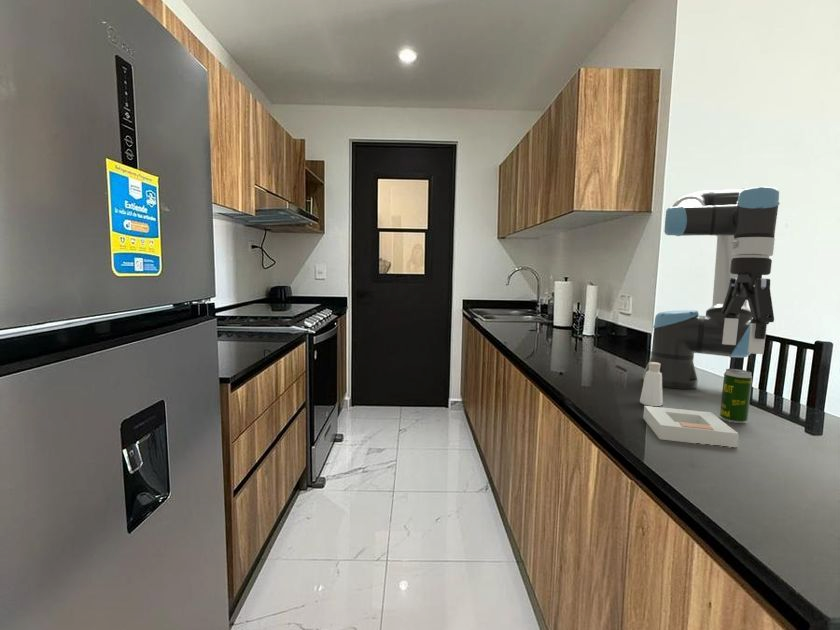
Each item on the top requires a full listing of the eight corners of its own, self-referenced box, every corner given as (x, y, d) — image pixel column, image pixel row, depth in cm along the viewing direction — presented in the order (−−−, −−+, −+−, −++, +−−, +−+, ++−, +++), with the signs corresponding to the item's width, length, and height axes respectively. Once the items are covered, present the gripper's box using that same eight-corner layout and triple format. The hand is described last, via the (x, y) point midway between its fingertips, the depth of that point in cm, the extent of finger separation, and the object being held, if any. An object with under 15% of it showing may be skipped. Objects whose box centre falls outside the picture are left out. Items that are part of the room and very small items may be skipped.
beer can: (736, 417, 109) (741, 369, 107) (752, 424, 103) (758, 374, 102) (714, 416, 109) (719, 368, 107) (729, 424, 103) (735, 373, 102)
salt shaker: (663, 408, 114) (668, 365, 113) (640, 405, 116) (644, 363, 115) (661, 402, 119) (665, 362, 118) (638, 399, 121) (642, 359, 120)
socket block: (643, 418, 105) (644, 404, 105) (709, 425, 102) (711, 411, 101) (659, 439, 92) (660, 424, 91) (736, 448, 88) (738, 432, 88)
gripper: (711, 259, 115) (703, 340, 117) (759, 254, 91) (748, 356, 93) (745, 260, 113) (735, 342, 115) (802, 255, 89) (790, 359, 91)
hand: (741, 348), depth 104 cm, fingers open, 13 cm apart
